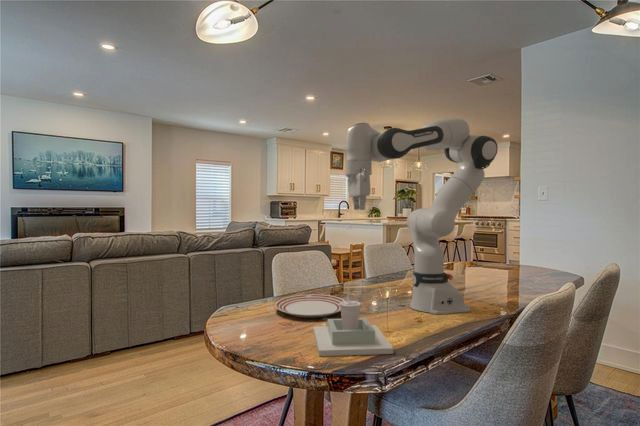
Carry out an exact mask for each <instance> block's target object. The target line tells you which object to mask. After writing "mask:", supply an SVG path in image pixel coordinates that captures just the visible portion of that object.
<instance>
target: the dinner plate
mask: <svg viewBox="0 0 640 426" xmlns="http://www.w3.org/2000/svg"><path fill="white" fill-rule="evenodd" d="M342 301H346V300H345V299H343V298H341V297H338V296H335V295H330V294H318V293H317V294H313V293H311V294H310V293H309V294H297V295H292V296H291V295H290V296H287V297H284V298H281V299H279V300H278V301H276V302H275V304H274V307H275V308H276V309H277V310H278V311H280V312H282V313H285V314H288V315H291V316H294V317H298V318H307V319H308V318H310V319H311V318H324V317H328V316H331V315H335V314H337V313H341V308H340V307H339V303H340V302H342Z"/></svg>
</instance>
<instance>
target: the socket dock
mask: <svg viewBox="0 0 640 426" xmlns="http://www.w3.org/2000/svg"><path fill="white" fill-rule="evenodd" d="M312 331H313V335H314V340H315V344H316V348H317V354H318V356H319V357H334V356H335V357H336V356H338V357H340V356H361V355H362V356H363V355H364V356H365V355H367V356H368V355H390V354H391V355H393V354H394V347H393V346H392V344H391V342H390V341H389V340H388V339H387V338H386V337H385V335H384V334H383V333H382V331H381V330H380V329H379V328H378V326H377V325H376V324H371V323H370V321H369V320H368V319H367V318H366V317H359V320H358V328H357V329H355V330H343V325H342V318H327V325H326V326H325V325H324V326H323V325H321V326H320V325H319V326H313V330H312Z"/></svg>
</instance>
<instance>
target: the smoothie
mask: <svg viewBox="0 0 640 426" xmlns="http://www.w3.org/2000/svg"><path fill="white" fill-rule="evenodd" d="M346 292H347V297H346V298H347V300H345V301H342V302H340V303H339V307H340V308H341V311H340V313H341V315H340V316H341V319H342V325H343V330H355V329H357V328H358V320H359V318H360V310H361V308H362V303H361V302H359V301H356V300H350V288H348V287H347V291H346Z"/></svg>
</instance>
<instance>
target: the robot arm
mask: <svg viewBox="0 0 640 426" xmlns="http://www.w3.org/2000/svg"><path fill="white" fill-rule="evenodd" d="M470 131H471V130H470V126H469V123H468V122H467V121H466V120H465V119H462V118H456V117H455V118H454V117H453V118H452V117H451V118H443V119H438V120H434V121H431V122H428V123H426V124H424V125H423V126H422V127H421V128H416V129H412V130H407V129H403V128H400V127H390V128H389V129H387V130H385V131H383V132H380V131H378V130H376V129H374V128H373V127H372V126H371V125H370V123H368V122H367V123H366V122H359V123H355V124H352V125H351V126H349V127H348V128H347V131H346V140H345V142H346V143H345V149H346V150H345V151H346V154H347V157H346V159H345V160H346V161H345V163H346V164H345V167H346V169H345V177H346V178H347V187H348V195H349V197H350V198H352V203H353V210H354V211H355V210H357V211H358V210H360V211H365V210H366V201H367V197H369V196H370V195H371V177H370V176H372V174H373V173H372V172H373V171H372V169H373V167H372V165H373V163H372V161H373V162H377V163H382V162H386V161H390V160H395V159H401V158H403V157H404V156H406V155H407V154H408V153H409V152H410V151H412V150H415V149H421V148H424V149H425V150H426V151H429V152H430V151H431V152H432V151H442V150H444V154H445V157H446V159H448V161H450V162H453V163H456V164H457V163H459V164H458V166H457V169H456V171H455V172H454V173H453V174H451V176H450V177H449V178H448V179H447V180H446V181H445V182H444V184H443V185H442V186H441V187H440V188H439V189H438V190H437V192H436V197H435V199H434V201H433V203H432V204H431V205H430V206H428V207H427V208H425V207H424V208H417V209H415V210H413V211H411V212H410V213H409V214H408V216H407V218H406V226H407V228H408V230H409V232H410V237H411V241H412V247H413V255H414V256H413V260H414V261H413V264H414V266H413V267H414V268H413V269H414V270H413V272H412V285H413V289H412V296H411V301H410V304H409V308H411V309H413V310H415V311H418V312H419V311H420V312H425V313H430V314H434V315H446V314H455V313H467V312H471V307H470V306H469V305H468V304H466V303H465V301H464V300H465V299H464V295H463V293H462V292H461V291H460V290H458V288H456V287H455V286H454V285H452V284H451V283H450V282H449V281H452V280H453V279H454V275H453V274H450V273H446V272H444V268H445V267H444V265H445V264H444V263H445V262H444V261H445V259H444V258H445V257H444V250H443V249H442V247H441V245H440V241H439V238H443V237H447V236H449V235H450V234H451V233H453V231H454V229H455V224H456V221H455V219H456V218H457V216H458V214H459V212H460V210H461V209H462V208H463V207H464V206H465V205H466V203H467V202H468V201H469V200H470V198H471V197H472V196H473V195H474V194H475V193H476V192H477V190H478V189H479V187H480V186H481V184H482V182H483V180H484V179H485V171H484V169H487V168H488V167H489V166H490V165H491V163H492V162H493V161H494V160H495V158H496V156H497V153H498V143H497V141H496V140H495V139H494V138H493V137H491V136H487V135H474V134H472V135H471V134H470Z"/></svg>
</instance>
